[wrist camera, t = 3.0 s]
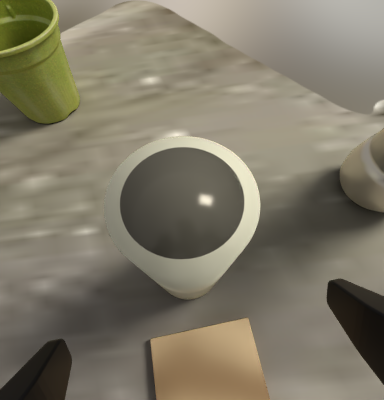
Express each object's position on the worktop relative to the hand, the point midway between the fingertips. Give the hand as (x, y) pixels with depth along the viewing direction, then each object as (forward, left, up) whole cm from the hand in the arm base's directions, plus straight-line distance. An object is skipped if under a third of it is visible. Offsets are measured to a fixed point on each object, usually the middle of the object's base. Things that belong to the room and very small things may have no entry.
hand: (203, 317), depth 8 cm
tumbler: (+1, +3, -10) cm, 11 cm away
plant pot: (-3, +27, -11) cm, 29 cm away
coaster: (-1, -4, -10) cm, 11 cm away
